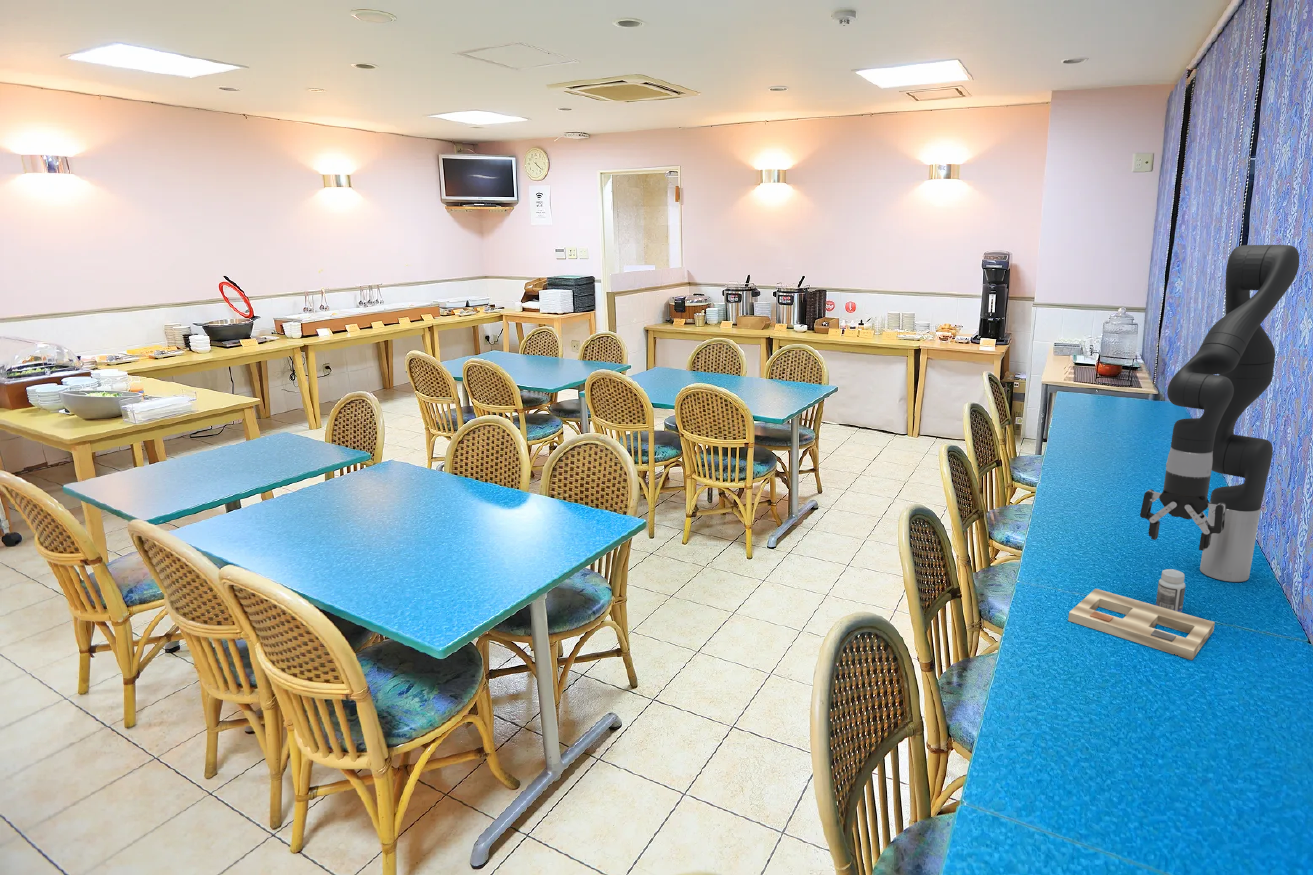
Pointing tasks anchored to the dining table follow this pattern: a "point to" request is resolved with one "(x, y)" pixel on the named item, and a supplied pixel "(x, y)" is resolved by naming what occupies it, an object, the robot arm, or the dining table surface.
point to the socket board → (1143, 623)
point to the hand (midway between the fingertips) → (1177, 543)
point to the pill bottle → (1171, 590)
